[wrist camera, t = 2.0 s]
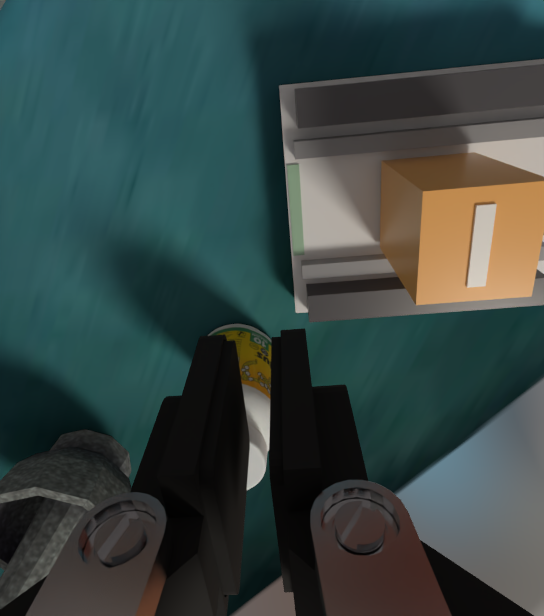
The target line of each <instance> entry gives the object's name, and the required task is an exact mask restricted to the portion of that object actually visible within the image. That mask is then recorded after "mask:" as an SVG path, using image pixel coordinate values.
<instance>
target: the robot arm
mask: <svg viewBox="0 0 544 616" xmlns="http://www.w3.org/2000/svg"><path fill="white" fill-rule="evenodd" d="M5 1H6V0H0V10H1V8H2V6H3V5H4V3H5ZM249 451H250V438H249V429H248V422H247V415H246V408H245V402H244V395H243V388H242V381H241V374H240V367H239V361H238V354H237V347H236V342H235V340H230V341H227V338H226V335H225V334H224V335H210V336H200V338H199V340H198V344H197V347H196V350H195V354H194V357H193V360H192V363H191V367H190V370H189V373H188V377H187V380H186V383H185V387H184V390H183V393H182V396H168V397H166V398H164V400H163V402H162V405H161V407H160V410H159V413H158V416H157V419H156V421H155V424H154V427H153V430H152V433H151V435H150V438H149V441H148V444H147V447H146V449H145V452H144V455H143V458H142V461H141V463H140V466H139V469H138V472H137V475H136V477H135V480H134V483H133V486H132V489H131V491H130V493H122V494H119V495H116V496H113V497H110V498H108V499H106V500H104V501H103V502H101V503H99V504H97V505H96V506H94V507H93V508H92V509H91V510H90V511H88V512H87V513H86V514H85V515H84V516H83V517H82V518H81V519H80V521H79V522H78V524H77V525H76V526H75V528H74V529H73V531H72V532H71V534H70V536H69V538H68V540H67V541H66V543H65V545H64V547H63V549H62V550H61V552H60V554H59V556H58V558H57V559H56V561H55V563H54V565H53V567H52V568H51V570H50V572H49V574H48V575H47V576H46V577H44V578H43V579H42V580H40V581H39V582H37V583H36V584H35V585H33V586H32V587H30V588H29V589H28V590H26V591H25V592H24V593H22V594H21V595H19V596H18V597H17V598H15V599H14V600H12V601H11V602H10V603H8V604H7V605H6V606H4V607H3V608H1V609H0V616H225V615H227V606H228V595H237V594H238V593H239V586H240V573H241V559H242V546H243V532H244V519H245V505H246V491H247V478H248V464H249ZM269 468H270V482H271V491H272V499H273V507H274V515H275V522H276V530H277V538H278V546H279V554H280V562H281V570H282V578H283V585H284V592H293V593H294V602H295V611H296V616H534V615H532V614H531V613H529V612H528V611H526V610H525V609H523V608H522V607H520V606H519V605H517V604H516V603H514V602H513V601H511V600H509V599H508V598H507V597H505V596H503V595H502V594H500V593H499V592H497V591H496V590H494V589H493V588H491V587H490V586H488V585H487V584H485V583H484V582H482V581H481V580H479V579H478V578H476V577H475V576H473V575H472V574H470V573H469V572H467V571H466V570H464V569H463V568H461V567H460V566H458V565H457V564H455V563H454V562H452V561H451V560H449V559H448V558H446V557H445V556H443V555H442V554H440V553H439V552H437V551H436V550H434V549H433V548H431V547H430V546H428V545H427V544H425V543H423V542H422V541H421V540H420V539H419V537H418V534H417V532H416V530H415V527H414V525H413V522H412V520H411V518H410V515H409V513H408V511H407V509H406V508H405V506H404V504H403V503H402V502H401V500H400V499H399V498H398V497H397V496H396V495H395V494H393V493H392V492H391V491H390V490H389V489H387V488H385V487H383V486H381V485H379V484H377V483H373V482H369V481H368V478H367V473H366V469H365V465H364V460H363V456H362V452H361V447H360V443H359V439H358V434H357V430H356V426H355V421H354V417H353V412H352V408H351V404H350V399H349V395H348V391H347V387H346V385H332V386H317V387H312V384H311V376H310V367H309V358H308V350H307V341H306V333H305V329H292V330H281V337H272V339H271V388H270V439H269Z"/></svg>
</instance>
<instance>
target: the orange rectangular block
mask: <svg viewBox="0 0 544 616" xmlns="http://www.w3.org/2000/svg"><path fill="white" fill-rule="evenodd" d="M543 234H544V177H543V176H541V175H538V174H535V173H532V172H529V171H526V170H524V169H521V168H518V167H515V166H512V165H509V164H506V163H504V162H501V161H498V160H495V159H492V158H489V157H487V156H484V155H481V154H478V153H475V152H471V153H460V154H449V155H438V156H427V157H416V158H405V159H394V160H383V161H381V208H380V249H381V250H382V252H383V253H384V255H385V257H386V258H387V260H388V261H389V263H390V265H391V266H392V268H393V269H394V271H395V273H396V274H397V276H398V277H399V279H400V281H401V282H402V284H403V285H404V287H405V289H406V290H407V292H408V293H409V295H410V297H411V298H412V300H413V301H414V303H415V304H416V305H425V304H439V303H452V302H465V301H479V300H492V299H505V298H519V297H532V292H533V287H534V281H535V276H536V271H537V266H538V260H539V255H540V250H541V245H542V239H543Z"/></svg>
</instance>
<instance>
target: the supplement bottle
mask: <svg viewBox="0 0 544 616" xmlns="http://www.w3.org/2000/svg"><path fill="white" fill-rule="evenodd" d="M224 334H225V335H226V338H227V341H230V340H235V342H236V347H237V354H238V361H239V367H240V374H241V381H242V388H243V395H244V402H245V408H246V415H247V422H248V429H249V438H250V451H249V464H248V478H247V490H249V489H250V488H252V487H254V486H255V485H256V484H258V483H259V482H260V480H261V479H262V477H263V475H264V473H265V470H266V461H267V452H268V451H269V439H270V388H271V339H270V338H269V337H268V336H267V335H266V334H264V333H263V332H261V331H259V330H258V329H256V328H254V327H252V326H249V325H244V324H229V325H225V326H222V327H219V328H217V329H215V330H214V331H212V332H211V333H210V334H209V335H208V336H210V335H224Z"/></svg>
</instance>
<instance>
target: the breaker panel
mask: <svg viewBox="0 0 544 616" xmlns="http://www.w3.org/2000/svg"><path fill="white" fill-rule="evenodd" d="M279 93H280V106H281V120H282V134H283V147H284V161H285V174H286V188H287V201H288V215H289V228H290V242H291V255H292V269H293V282H294V296H295V308H296V313H304V312H308V315H309V322H320V321H333V320H347V319H360V318H374V317H388V316H401V315H415V314H428V313H442V312H455V311H469V310H482V309H496V308H509V307H523V306H536V305H544V234H543V239H542V245H541V250H540V255H539V260H538V266H537V271H536V276H535V281H534V287H533V292H532V297H519V298H505V299H492V300H479V301H465V302H452V303H439V304H425V305H416V304H415V303H414V301H413V300H412V298H411V297H410V295H409V293H408V292H407V290H406V289H405V287H404V285H403V284H402V282H401V281H400V279H399V277H398V276H397V274H396V273H395V271H394V269H393V268H392V266H391V265H390V263H389V261H388V260H387V258H386V257H385V255H384V253H383V252H382V250H381V249H380V208H381V161H383V160H394V159H405V158H416V157H427V156H438V155H449V154H460V153H471V152H475V153H478V154H481V155H484V156H487V157H489V158H492V159H495V160H498V161H501V162H504V163H506V164H509V165H512V166H515V167H518V168H521V169H524V170H526V171H529V172H532V173H535V174H538V175H541V176H543V177H544V59H538V60H528V61H518V62H508V63H498V64H488V65H478V66H468V67H458V68H448V69H438V70H428V71H418V72H408V73H398V74H388V75H378V76H368V77H358V78H347V79H337V80H327V81H317V82H307V83H297V84H287V85H279Z"/></svg>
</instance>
